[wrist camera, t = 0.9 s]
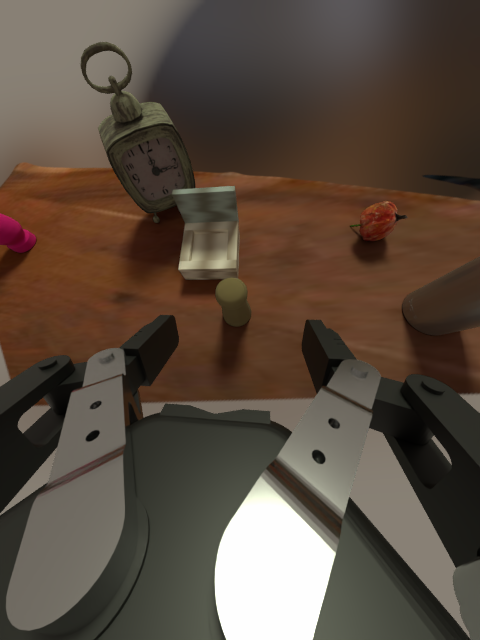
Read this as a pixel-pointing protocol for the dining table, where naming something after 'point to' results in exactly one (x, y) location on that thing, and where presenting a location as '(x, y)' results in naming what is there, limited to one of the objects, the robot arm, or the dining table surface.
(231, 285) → the cork
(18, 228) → the pepper mill
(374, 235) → the pomegranate
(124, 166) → the tabletop clock
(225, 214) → the stand
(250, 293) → the dining table surface
